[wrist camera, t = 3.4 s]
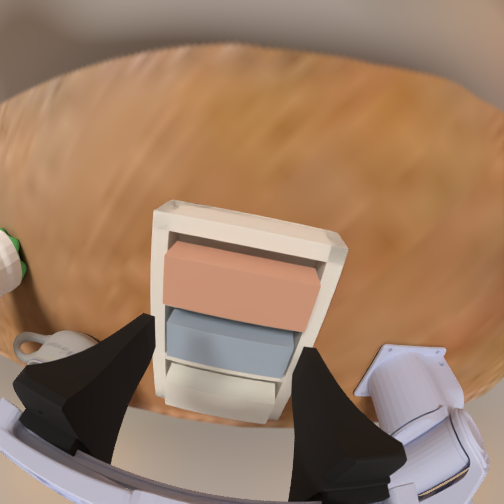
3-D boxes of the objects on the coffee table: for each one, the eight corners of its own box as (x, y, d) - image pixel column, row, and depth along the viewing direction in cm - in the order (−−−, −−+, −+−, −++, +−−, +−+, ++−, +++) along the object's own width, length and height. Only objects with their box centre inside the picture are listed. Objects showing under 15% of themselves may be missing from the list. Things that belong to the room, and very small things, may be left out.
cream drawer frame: (337, 232, 21) (348, 249, 17) (278, 396, 28) (277, 420, 25) (171, 199, 20) (153, 210, 17) (165, 373, 28) (155, 395, 25)
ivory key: (275, 383, 23) (274, 404, 21) (266, 404, 25) (265, 424, 22) (171, 362, 23) (164, 381, 21) (172, 385, 24) (165, 404, 22)
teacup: (143, 365, 28) (117, 418, 21) (108, 391, 31) (86, 433, 24) (54, 282, 25) (10, 321, 17) (36, 325, 28) (4, 359, 21)
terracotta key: (315, 268, 19) (320, 286, 16) (301, 311, 20) (304, 332, 18) (177, 240, 18) (164, 254, 16) (173, 285, 20) (162, 303, 18)
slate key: (292, 327, 22) (294, 348, 19) (281, 358, 23) (281, 378, 21) (176, 304, 22) (166, 322, 19) (175, 336, 23) (167, 355, 21)
